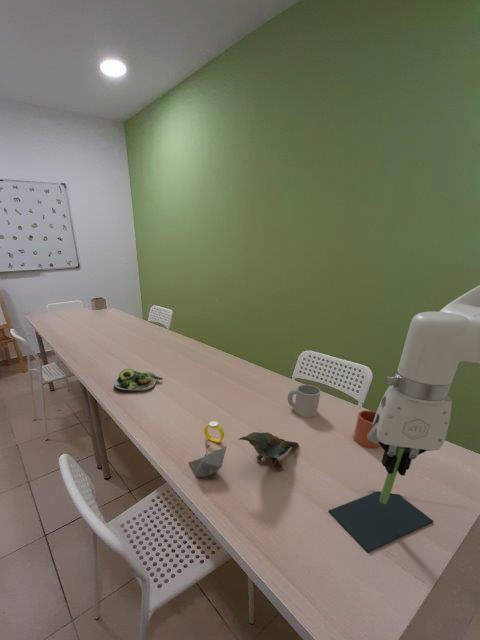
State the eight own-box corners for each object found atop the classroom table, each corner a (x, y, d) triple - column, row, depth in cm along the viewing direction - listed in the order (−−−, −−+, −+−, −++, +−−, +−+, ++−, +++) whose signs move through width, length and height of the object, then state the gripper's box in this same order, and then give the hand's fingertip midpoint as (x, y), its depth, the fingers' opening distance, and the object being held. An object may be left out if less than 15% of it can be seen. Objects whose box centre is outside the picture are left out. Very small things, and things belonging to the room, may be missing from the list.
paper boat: (181, 478, 74) (180, 447, 81) (195, 489, 77) (194, 458, 84) (223, 461, 70) (219, 429, 77) (236, 473, 73) (231, 442, 80)
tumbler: (376, 436, 89) (382, 411, 85) (383, 451, 83) (391, 425, 79) (350, 433, 90) (355, 409, 87) (355, 447, 84) (361, 422, 81)
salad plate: (165, 374, 133) (165, 364, 131) (159, 393, 117) (158, 382, 115) (123, 374, 134) (121, 364, 133) (110, 393, 118) (109, 382, 116)
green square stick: (385, 499, 62) (403, 444, 57) (388, 504, 61) (406, 449, 55) (378, 498, 63) (395, 443, 57) (380, 503, 61) (397, 448, 56)
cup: (314, 421, 97) (318, 396, 93) (283, 413, 102) (286, 389, 98) (318, 410, 102) (322, 387, 99) (289, 403, 107) (291, 381, 104)
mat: (388, 488, 71) (389, 486, 71) (432, 522, 62) (433, 520, 62) (328, 511, 65) (328, 510, 65) (367, 552, 56) (368, 551, 56)
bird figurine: (282, 433, 90) (262, 394, 77) (310, 452, 82) (293, 411, 70) (253, 467, 87) (227, 431, 74) (279, 489, 79) (256, 453, 67)
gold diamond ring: (225, 441, 88) (225, 424, 86) (220, 446, 86) (221, 429, 84) (207, 435, 91) (207, 418, 89) (203, 439, 89) (202, 422, 87)
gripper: (376, 390, 50) (354, 476, 57) (488, 401, 46) (449, 491, 53) (364, 372, 56) (345, 451, 64) (462, 380, 53) (430, 463, 60)
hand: (393, 469), depth 58 cm, fingers closed on green square stick, 1 cm apart
